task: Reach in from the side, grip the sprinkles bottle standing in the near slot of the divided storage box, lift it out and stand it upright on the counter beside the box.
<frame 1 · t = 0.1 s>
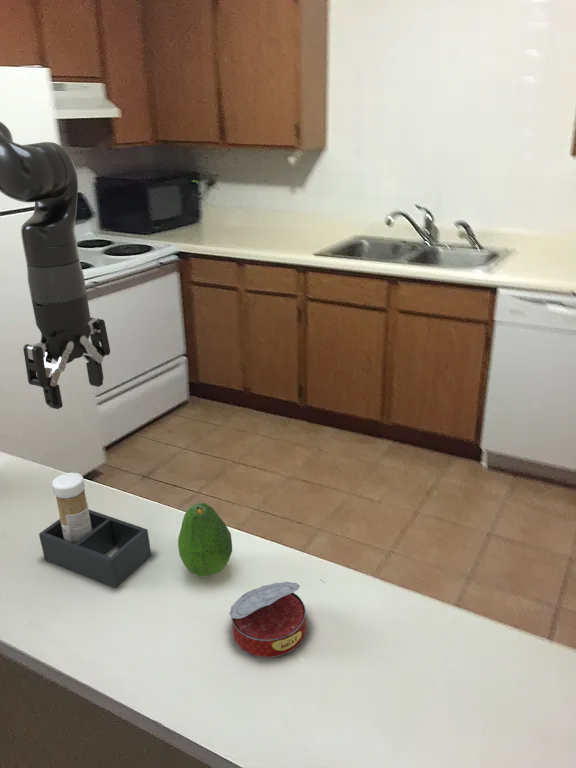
hand: (76, 396, 101), 24 cm above the countertop, tool pointing down, fingers open, 8 cm apart
canned food: (269, 630, 90), on the countertop
sprinkles bottle: (82, 552, 106), resting in divided storage box
divided storage box: (98, 557, 105), on the countertop
avocado: (208, 572, 101), on the countertop
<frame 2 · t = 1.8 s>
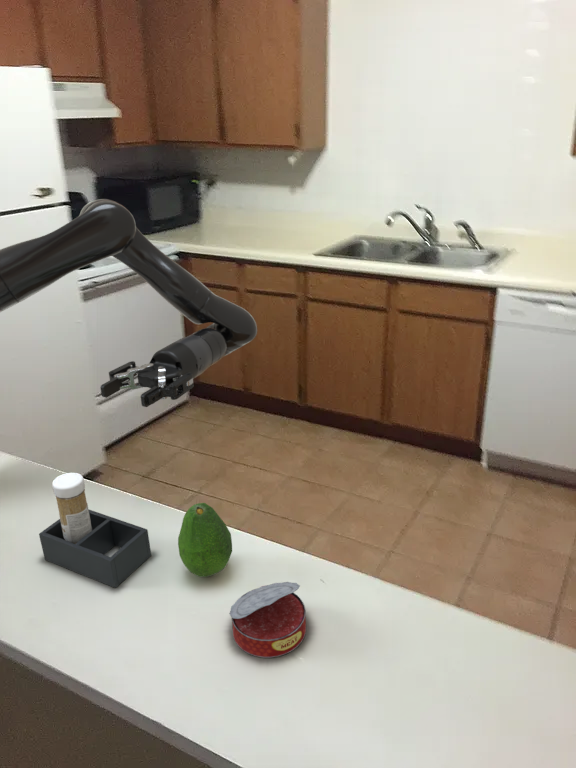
hand: (122, 396, 108), 21 cm above the countertop, tool horizontal, fingers open, 8 cm apart
nothing on the countertop moved.
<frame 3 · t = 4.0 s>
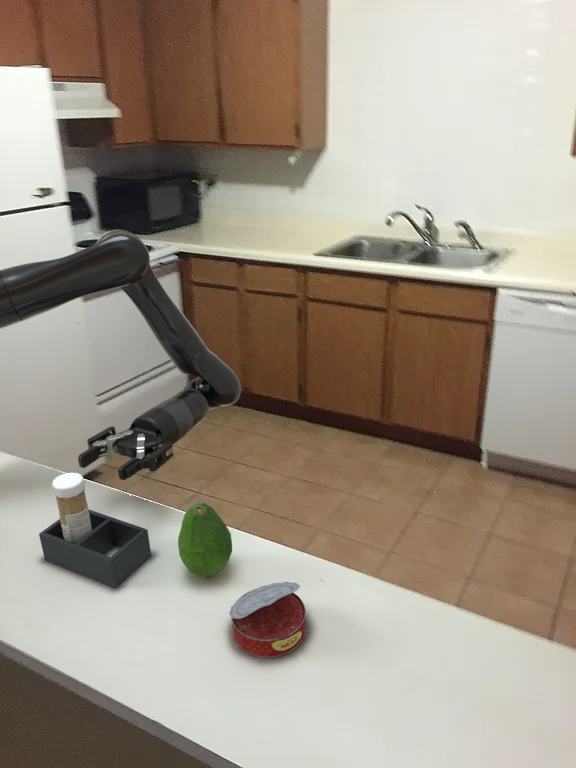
hand: (100, 468, 107), 12 cm above the countertop, tool horizontal, fingers open, 8 cm apart
nothing on the countertop moved.
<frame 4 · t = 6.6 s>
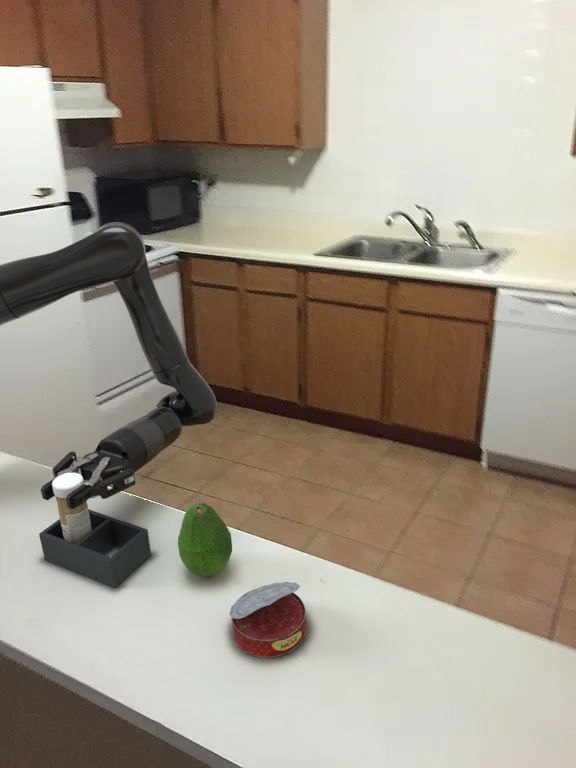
hand: (56, 498, 99), 12 cm above the countertop, tool horizontal, fingers closed on sprinkles bottle, 4 cm apart
sprinkles bottle: (82, 552, 106), resting in divided storage box, touching gripper
everything else where it was.
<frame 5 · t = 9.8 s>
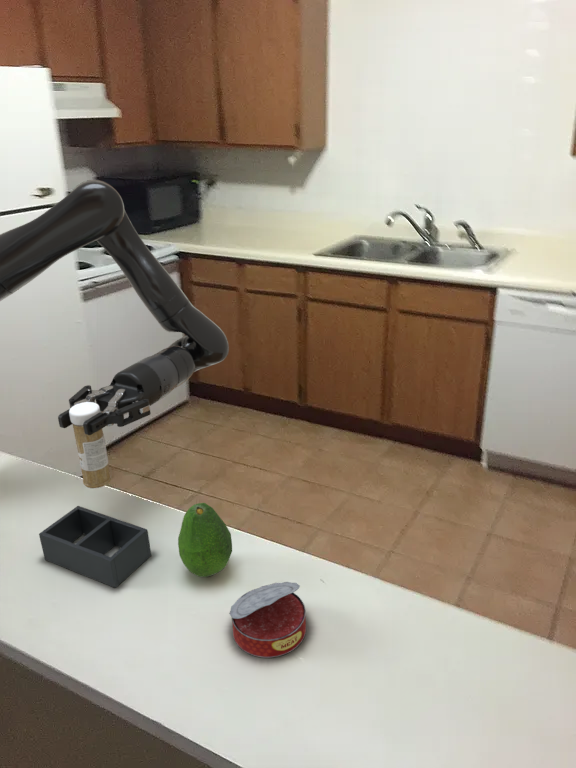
hand: (73, 425, 101), 21 cm above the countertop, tool horizontal, fingers closed on sprinkles bottle, 4 cm apart
sprinkles bottle: (98, 482, 108), point 9 cm above the countertop, touching gripper
everything else where it was.
when the fingers open (12 cm above the countertop, at t = 13.0 s): sprinkles bottle stays where it is, on the countertop.
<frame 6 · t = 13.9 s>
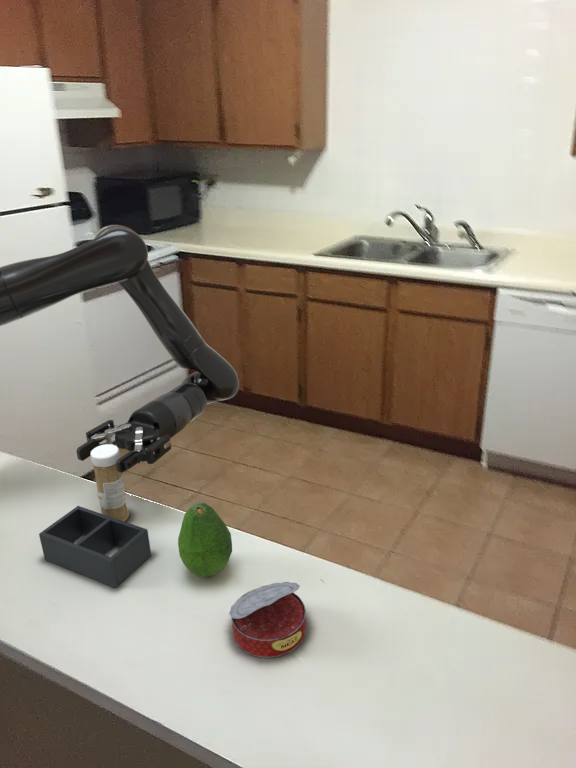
hand: (98, 461, 107), 12 cm above the countertop, tool horizontal, fingers open, 8 cm apart
sprinkles bottle: (116, 519, 114), on the countertop
everything else where it was.
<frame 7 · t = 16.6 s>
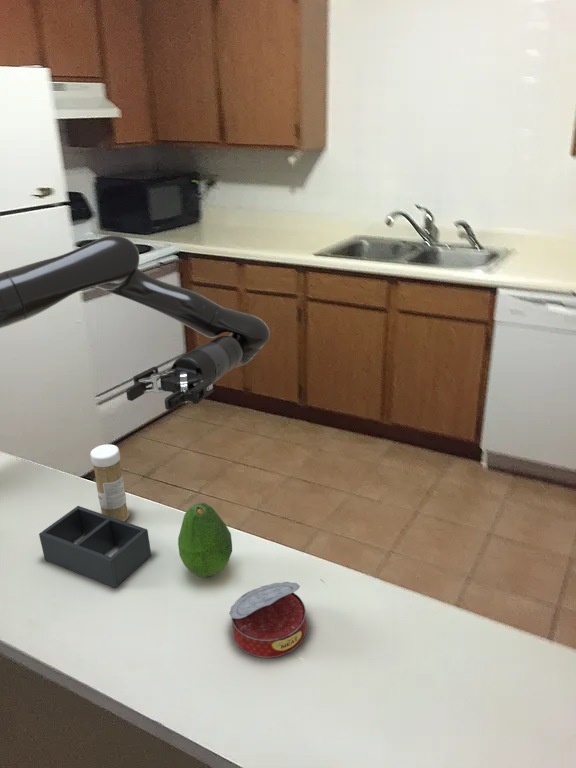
hand: (147, 400, 116), 17 cm above the countertop, tool horizontal, fingers open, 8 cm apart
nothing on the countertop moved.
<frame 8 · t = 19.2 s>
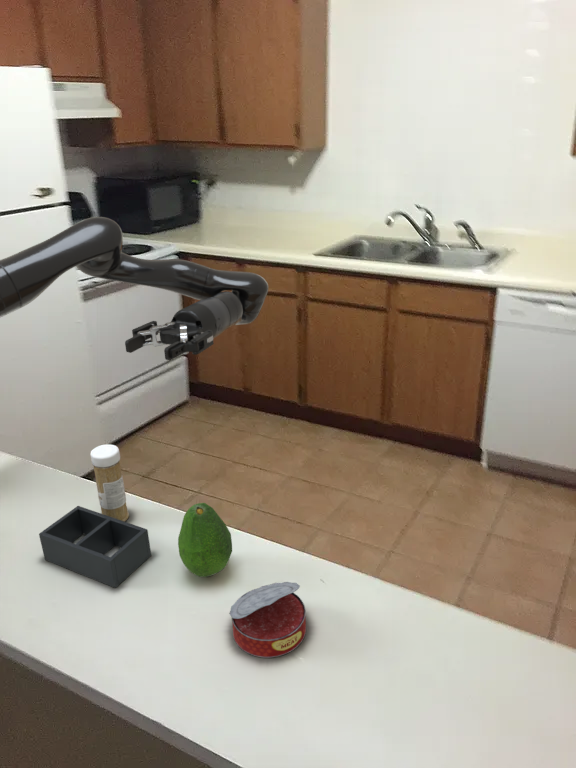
hand: (146, 351, 113), 26 cm above the countertop, tool horizontal, fingers open, 8 cm apart
nothing on the countertop moved.
at the end: sprinkles bottle inside the target area (0.2 cm from its centre), on the countertop; sprinkles bottle tilted 0°; the gripper is holding nothing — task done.
